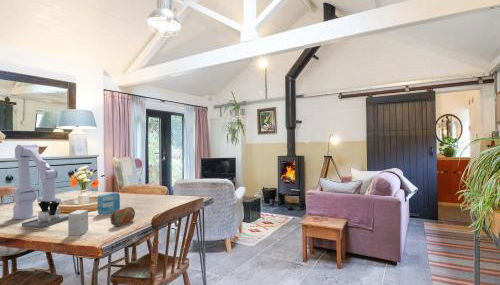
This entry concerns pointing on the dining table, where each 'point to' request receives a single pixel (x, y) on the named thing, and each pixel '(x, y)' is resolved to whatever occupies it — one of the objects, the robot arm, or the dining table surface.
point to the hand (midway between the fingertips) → (49, 214)
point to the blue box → (108, 203)
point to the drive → (47, 215)
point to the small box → (77, 222)
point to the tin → (122, 216)
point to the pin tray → (41, 224)
